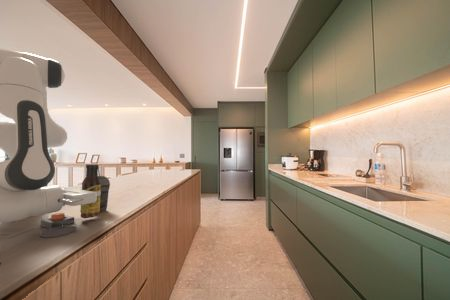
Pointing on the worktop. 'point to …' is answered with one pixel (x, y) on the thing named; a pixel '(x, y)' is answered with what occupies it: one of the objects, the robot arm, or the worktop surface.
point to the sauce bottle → (91, 185)
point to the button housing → (57, 222)
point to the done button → (57, 216)
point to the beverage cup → (103, 192)
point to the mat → (58, 231)
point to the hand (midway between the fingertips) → (93, 192)
